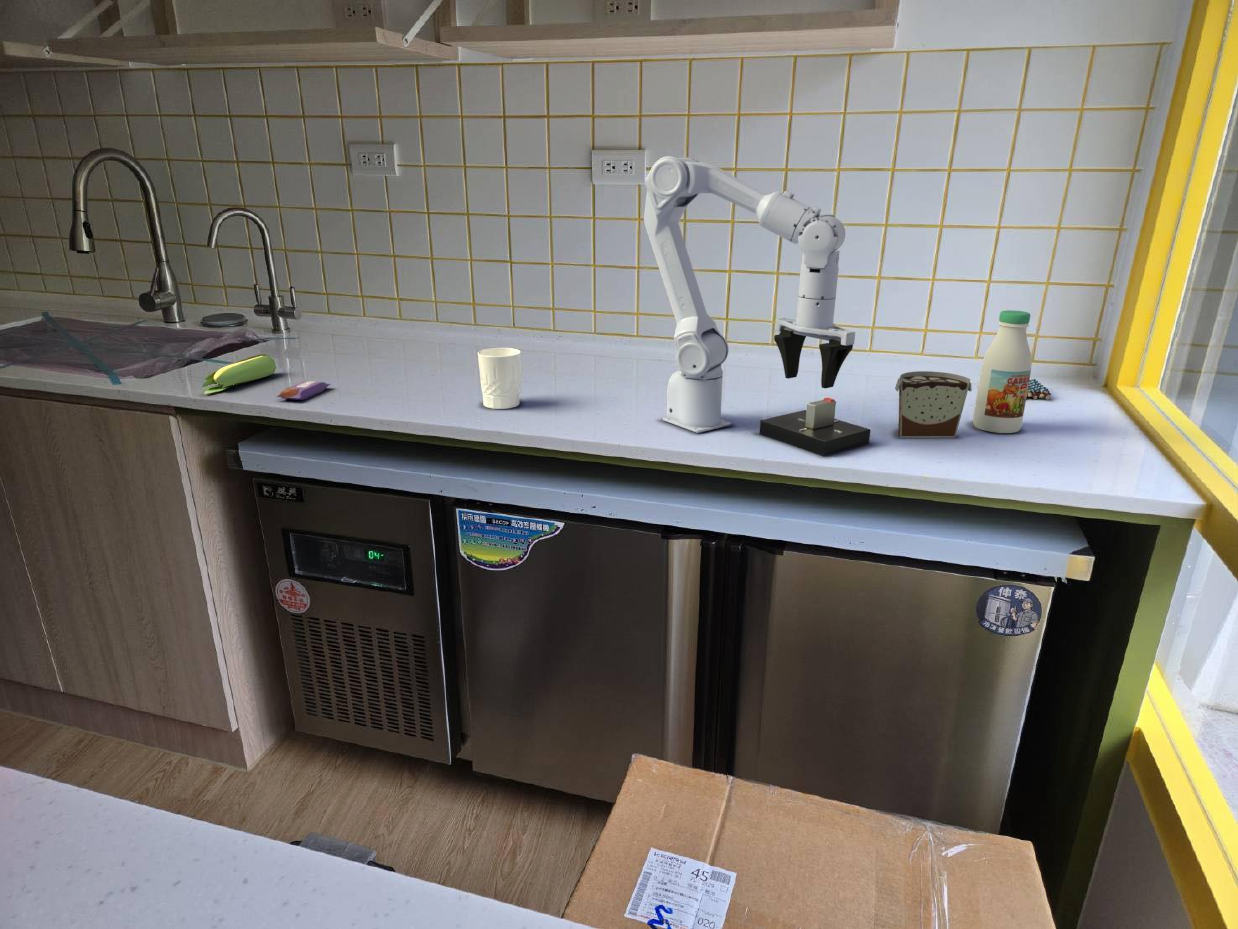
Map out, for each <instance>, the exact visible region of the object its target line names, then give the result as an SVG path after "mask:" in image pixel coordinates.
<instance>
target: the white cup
mask: <svg viewBox="0 0 1238 929" xmlns="http://www.w3.org/2000/svg"><path fill="white" fill-rule="evenodd" d="M477 360H478V362H477V363H478V371H479V372H478V373H479V379H480V380H479V382H480V388H481V389H480V390H481V392H482V394H481V395H482V402H483V403H482V404H483V406H484V407H486V409H487V408H488V409H493V410H506V409H507V410H508V409H513V408H515V407H518V406H519V405H520V393H521V392H520V390H521V375H522V351H521V350H519V349H517V348H511V347H490V348H484V349H481V350H479V351H477Z"/></svg>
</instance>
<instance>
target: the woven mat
mask: <svg viewBox="0 0 1238 929" xmlns="http://www.w3.org/2000/svg"><path fill="white" fill-rule="evenodd" d="M1050 391H1051V390H1049V388H1047V387H1046V386H1044V384H1042V383H1041V382H1039V381H1038V380H1036V378H1033V379H1032V378H1030V380H1029V386H1028V392H1027V397H1026V398H1033V400H1037V399H1043V398H1044V399H1045V400H1046V401H1047V400H1050V396H1052V393H1051V392H1050Z"/></svg>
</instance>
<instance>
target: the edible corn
mask: <svg viewBox="0 0 1238 929" xmlns="http://www.w3.org/2000/svg"><path fill="white" fill-rule="evenodd" d="M276 369H277V365H276V361H275V359H274V358H273V357H272V356H271V355H270V354H267V353H262V354H261V353H260V354H256V355H253V356H249V357H247V358H243V359H241V360H239V361H236V362H234V363H232V364H229V365H225V366H224V367H221V368H219V369H218V370H216V371H214V372H211V373H210V374H207V376H205V377H204V378H203V380H205V382H203V384H202V386H201V388H202V387H205V386H208V385H211V384H217V383H218V385H215V386H212V387H209V388H207V390H205V391H204V393H203V394H204V395H206V394H213V393H217V392H221V391H223V390H226V389H230V388H232V387H235V386H238V385H242V384H245V383H249V382H254V381H257V380H262V379H265V378H267V377H270V376H273V375H274V374H275V373H276ZM233 384H234V385H233Z"/></svg>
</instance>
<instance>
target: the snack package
mask: <svg viewBox="0 0 1238 929" xmlns="http://www.w3.org/2000/svg"><path fill="white" fill-rule="evenodd" d="M331 385H332V383H326V382H325V381H311V380H304V381H301V382H299V383H296V384H294V385H292V386H289V387H286V388H285V389H283V390H282V391H281V392H280V393H279V394H277V395H276V396H275V397H276V398H280V399H284V400H297V401H304V400H307V399H309V398H311V397H313V396H316V395H317V394H320V393H322V392H323V391H325V390H326V389H327V388H328V387H329V386H331Z"/></svg>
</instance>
